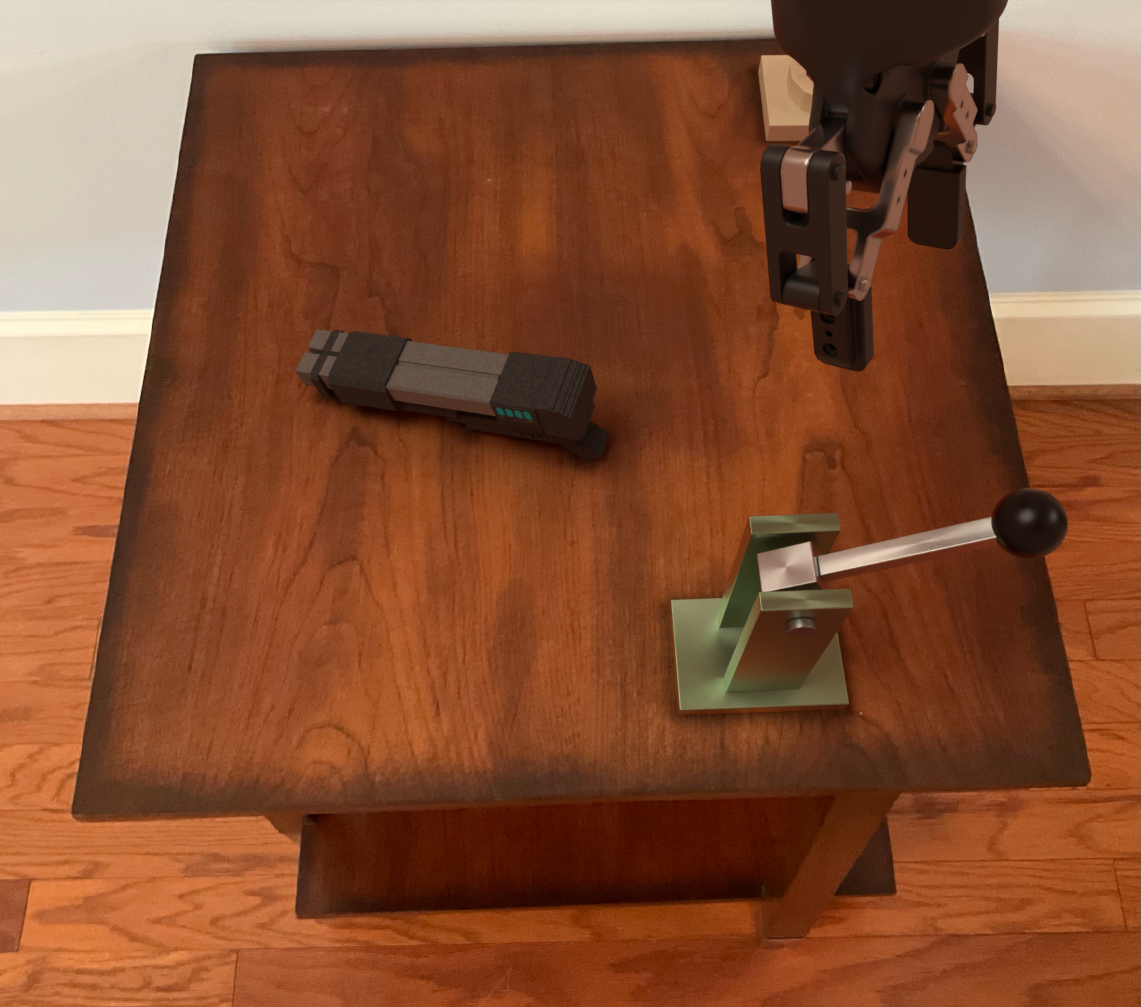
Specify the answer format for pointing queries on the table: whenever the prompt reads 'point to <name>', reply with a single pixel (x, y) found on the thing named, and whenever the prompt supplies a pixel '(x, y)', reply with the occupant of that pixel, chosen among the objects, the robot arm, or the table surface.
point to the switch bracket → (763, 633)
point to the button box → (785, 98)
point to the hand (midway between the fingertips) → (892, 299)
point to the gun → (460, 386)
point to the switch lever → (924, 544)
